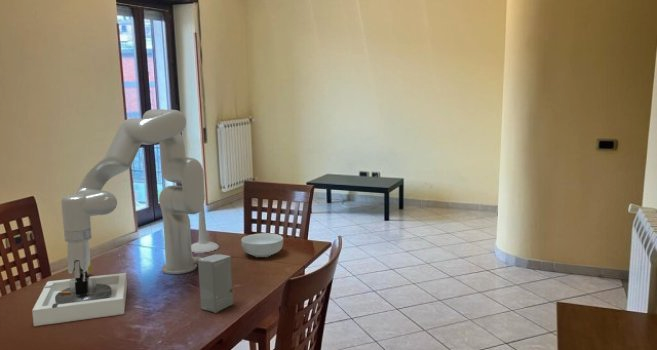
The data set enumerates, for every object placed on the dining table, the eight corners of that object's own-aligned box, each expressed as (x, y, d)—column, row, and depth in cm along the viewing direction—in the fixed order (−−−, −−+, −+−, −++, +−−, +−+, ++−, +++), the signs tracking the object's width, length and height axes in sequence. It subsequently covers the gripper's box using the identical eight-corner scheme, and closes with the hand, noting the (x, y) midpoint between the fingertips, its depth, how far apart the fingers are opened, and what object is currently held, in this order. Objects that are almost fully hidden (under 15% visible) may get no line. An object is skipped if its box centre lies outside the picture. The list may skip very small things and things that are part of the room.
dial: (119, 287, 171) (118, 270, 170) (98, 307, 155) (96, 288, 154) (71, 287, 171) (69, 270, 170) (44, 307, 155) (42, 288, 154)
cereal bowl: (291, 252, 214) (291, 236, 213) (266, 264, 200) (265, 246, 199) (259, 246, 223) (259, 230, 222) (233, 257, 209) (232, 240, 208)
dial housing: (127, 286, 179) (125, 271, 178) (123, 314, 156) (122, 297, 155) (48, 295, 171) (47, 280, 170) (33, 326, 148) (31, 309, 148)
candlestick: (194, 243, 228) (191, 176, 223) (223, 244, 226) (220, 176, 221) (182, 252, 215) (178, 181, 210) (212, 253, 213) (209, 181, 209)
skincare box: (215, 314, 156) (213, 263, 153) (198, 308, 159) (196, 259, 157) (234, 304, 163) (233, 255, 160) (218, 299, 166) (215, 251, 164)
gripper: (70, 228, 167) (74, 283, 170) (58, 243, 151) (64, 303, 154) (95, 227, 169) (99, 281, 172) (86, 240, 153) (91, 300, 156)
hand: (82, 290), depth 163 cm, fingers closed on dial, 3 cm apart
